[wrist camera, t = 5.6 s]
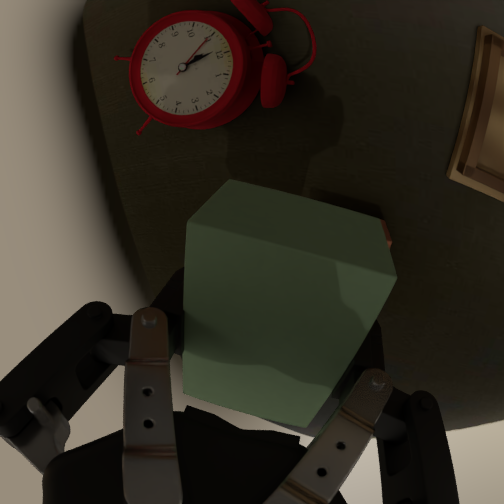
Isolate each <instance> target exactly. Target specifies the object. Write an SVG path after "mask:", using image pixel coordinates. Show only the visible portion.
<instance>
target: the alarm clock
mask: <svg viewBox="0 0 504 504" xmlns="http://www.w3.org/2000/svg"><path fill="white" fill-rule="evenodd" d="M230 1H231V2H232V3H233V4H234V5H235V6H236V7H237V8H238V10H239V11H240V12H241V13H242V14H243V15H244V16H245V17H246V18H247V19H248V21H249V22H250V23H251V24H252V25H253V26H254V27H255V28H256V30H255V31H253V32H252V31H251V30H250V29H249V28H248V27H247V26H246V25H245V24H244V23H242V22H241V21H240V20H238V19H236V18H235V17H233V16H230V15H228V14H225V13H221V12H216V11H202V10H186V11H180V12H176V13H173V14H170V15H167V16H165V17H163V18H161V19H160V20H158V21H157V22H155V23H154V24H153V25H151V26H150V27H149V28H148V29H147V30H146V31H145V32H144V34H143V35H142V36H141V37H140V39H139V41H138V42H137V44H136V46H135V48H134V50H133V53H132V56H131V57H119V56H115V57H114V60H119V59H120V60H129V61H130V65H129V81H130V86H131V90H132V93H133V95H134V97H135V100H136V101H137V103H138V104H139V106H140V107H141V108H142V109H143V110H144V112H145V113H147V114H148V115H149V118H148V119H147V120H146V122H145V123H144V125H143V126H142V127H141V129H140V130H138V131H137V132H136V134H137V135H141V133H142V132H141V131H142V130H143V129H144V128H145V126H146V125H147V124H148V123H149V122H150V121H151V120H152V118H153V119H155V120H157V121H159V122H161V123H164V124H166V125H169V126H174V127H185V128H190V129H209V128H214V127H218V126H221V125H223V124H226V123H228V122H230V121H232V120H233V119H235V118H237V117H238V116H239V115H241V114H242V113H243V112H244V111H245V110H246V109H247V108H248V107H249V106H250V105H251V103H252V102H253V100H254V99H255V97H256V96H257V94H258V92H259V90H260V87H261V102H262V106H263V107H264V108H274V107H276V106H278V105H279V104H280V103H281V102H282V100H283V98H284V95H285V92H286V86H287V84H290V85H294V83H295V82H294V81H289V78H290V76H292V75H295V74H298V73H300V72H302V71H303V70H305V69H307V68H308V67H309V66H310V65H311V64H312V63H313V61H314V59H315V56H316V41H315V36H314V32H313V30H312V28H311V26H310V24H309V22H308V20H307V19H306V18H305V16H304V15H303V14H301V13H300V12H298V11H297V10H295V9H291V8H275V9H266V8H265V7H264V6H266V5H267V4H269V2H268V1H265V2H263V3H261V4H260V3H259V2H257V1H256V0H230ZM275 11H290V12H294V13H296V14H297V15H299V16H300V17H301V18H302V19H303V20H304V22H305V24H306V25H307V27H308V30H309V32H310V35H311V39H312V44H313V52H312V57H311V59H310V61H309V62H308V63H307V64H306V65H305V66H304V67H302V68H300V69H298V70H296V71H294V72H292V73H289V74H288V75H287V66H286V63H285V61H284V59H283V58H282V57H281V56H279V55H276V54H269V53H267V55H266V56H265V59H264V56H263V51H262V48H261V47H265V46H268V47H272V43H271V41H267V43H266V44H262V45H260V43H259V41H258V39H257V37H256V36H255V34H254V33H255V32H256V31H259V32H260V33H261V34H262V35H263V36H264V37H265V36H266V35H268V34H269V33H270V32H271V31H272V29H273V23H272V19H271V18H270V16H269V14H268V13H267V12H275Z"/></svg>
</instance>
